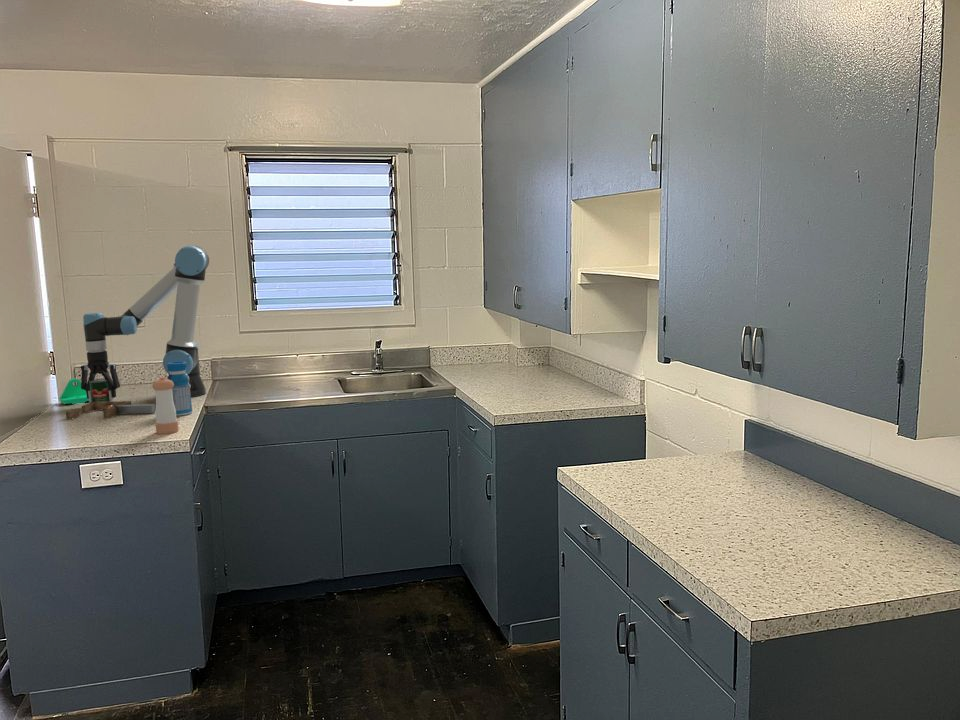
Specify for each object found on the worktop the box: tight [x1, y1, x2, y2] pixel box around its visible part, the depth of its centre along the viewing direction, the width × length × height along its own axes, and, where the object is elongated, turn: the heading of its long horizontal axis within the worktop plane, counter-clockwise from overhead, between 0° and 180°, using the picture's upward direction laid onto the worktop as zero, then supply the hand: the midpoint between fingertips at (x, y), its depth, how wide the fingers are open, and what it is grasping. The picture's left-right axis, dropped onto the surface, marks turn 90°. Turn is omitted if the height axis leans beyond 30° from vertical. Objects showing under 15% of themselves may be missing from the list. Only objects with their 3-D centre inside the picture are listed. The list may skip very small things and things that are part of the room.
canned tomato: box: [89, 378, 110, 402], centre depth 327 cm, size 8×8×11 cm
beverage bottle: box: [166, 361, 193, 417], centre depth 305 cm, size 8×8×20 cm
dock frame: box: [65, 400, 133, 420], centre depth 312 cm, size 16×20×3 cm
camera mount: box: [59, 377, 89, 405], centre depth 337 cm, size 12×8×10 cm, turn 128°
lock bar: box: [107, 403, 156, 415], centre depth 310 cm, size 18×3×3 cm, turn 88°
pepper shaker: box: [151, 377, 180, 435], centre depth 276 cm, size 7×7×19 cm
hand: (102, 405), depth 327 cm, fingers closed on canned tomato, 8 cm apart
